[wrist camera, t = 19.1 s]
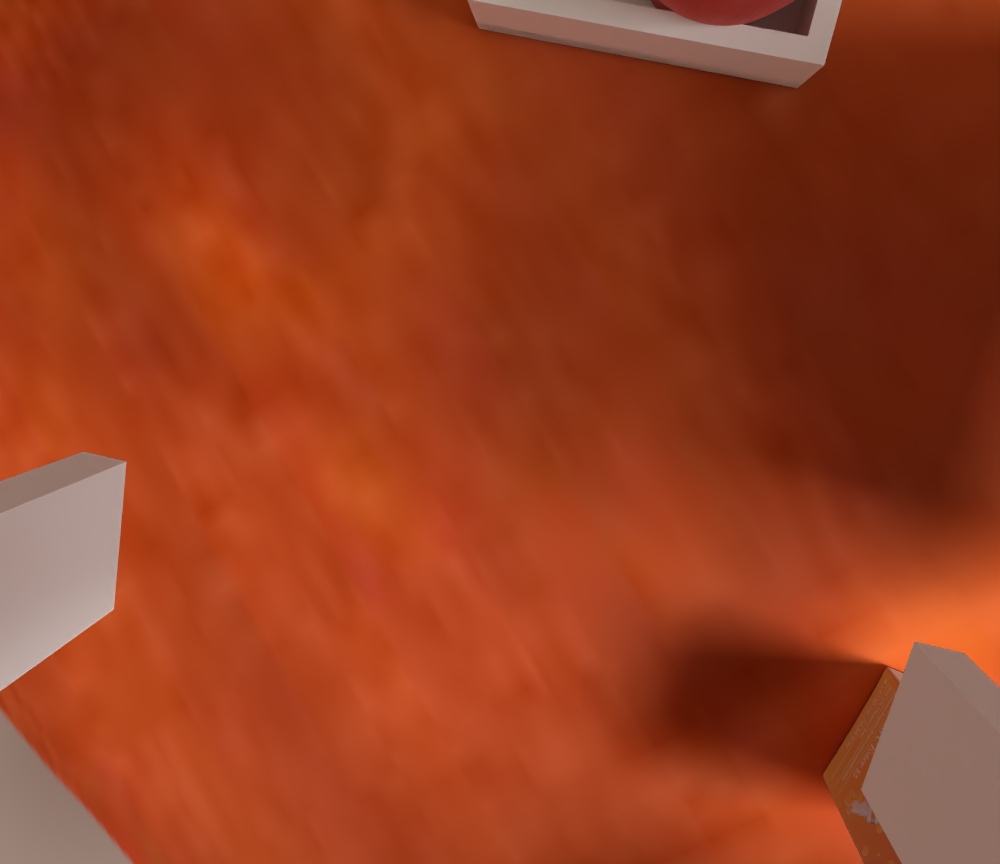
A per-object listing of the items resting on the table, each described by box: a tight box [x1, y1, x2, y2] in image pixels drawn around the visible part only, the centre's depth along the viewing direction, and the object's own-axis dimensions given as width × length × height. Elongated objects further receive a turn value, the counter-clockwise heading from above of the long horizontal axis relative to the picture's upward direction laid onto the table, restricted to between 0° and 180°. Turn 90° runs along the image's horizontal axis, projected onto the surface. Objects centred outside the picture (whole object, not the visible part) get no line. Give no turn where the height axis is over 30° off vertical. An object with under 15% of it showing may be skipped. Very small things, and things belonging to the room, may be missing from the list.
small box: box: [823, 667, 903, 864], centre depth 36 cm, size 8×6×13 cm
